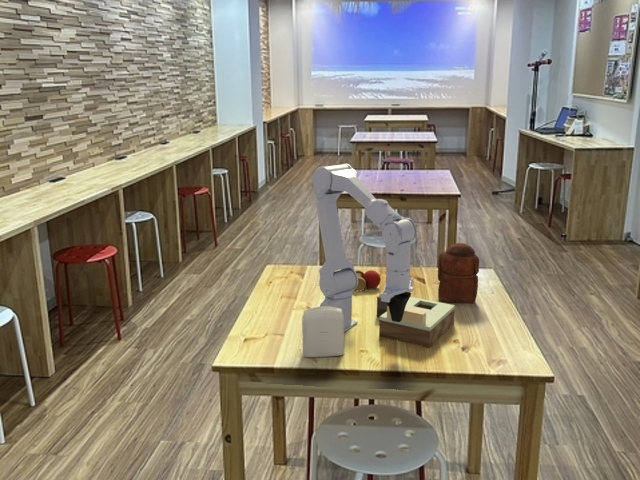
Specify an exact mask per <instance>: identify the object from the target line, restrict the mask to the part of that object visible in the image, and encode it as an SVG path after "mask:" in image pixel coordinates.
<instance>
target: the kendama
mask: <svg viewBox="0 0 640 480" xmlns="http://www.w3.org/2000/svg"><path fill="white" fill-rule="evenodd" d="M355 272H356V274H357V276H358V286H357V287H356V289H354V292H360V291H364V289H365V288H367V289H368V290H369V289H376V288H378V287H379V285H380V284H381V275H380V274H379V272H377V271H376V270H373V269H371V270H367V271H365V272H364V271H362V270H360V269H356V270H355Z"/></svg>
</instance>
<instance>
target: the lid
mask: <svg viewBox="0 0 640 480" xmlns="http://www.w3.org/2000/svg"><path fill="white" fill-rule="evenodd" d="M419 304H423V305H428V306H433V308H432V309H431V310H429V309H424V308H419V307H417V306H418V305H419ZM455 307H456V306H455V304H450V303H446V302H440V301H434V300H429V299H423V298H418V297H413V296H411V297H410V298H409V300H408V302H407V304H406V307H405V310H404V314H403V317H402V320H401V321H400V322H395V321H392V319H391V315H390V310H389V307H387V312H385V313H384V314H382V315H381V316H380V317H379V321H380V320H382V321H387V322H391V323H396V324H400V325H405V326H409V327H414V328H418V329H423V330H427V331H431V330H432V329H433V328H434V327H435V326H436V325H437V324H438V323H439V322H441V321H442V320H443V319H444V318H445V317H446V316H447V315H448V314H449V313H451V312H452V311H453V310H454V309H455ZM454 311H455V310H454Z"/></svg>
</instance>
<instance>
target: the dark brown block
mask: <svg viewBox="0 0 640 480" xmlns="http://www.w3.org/2000/svg"><path fill="white" fill-rule="evenodd" d="M387 307H388V305H387V302H383V301H381V294H380V295H378V296H377V297H376V318H380V316H381V315H382V314H384V313H385V312H387Z"/></svg>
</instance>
